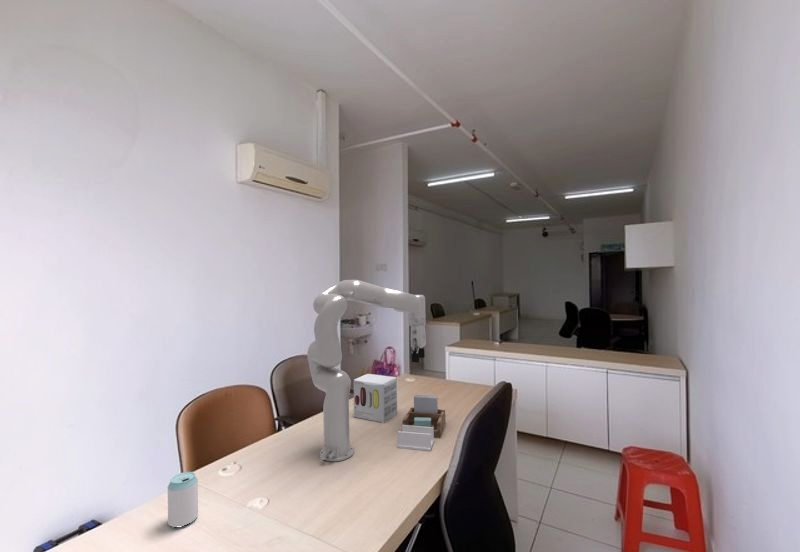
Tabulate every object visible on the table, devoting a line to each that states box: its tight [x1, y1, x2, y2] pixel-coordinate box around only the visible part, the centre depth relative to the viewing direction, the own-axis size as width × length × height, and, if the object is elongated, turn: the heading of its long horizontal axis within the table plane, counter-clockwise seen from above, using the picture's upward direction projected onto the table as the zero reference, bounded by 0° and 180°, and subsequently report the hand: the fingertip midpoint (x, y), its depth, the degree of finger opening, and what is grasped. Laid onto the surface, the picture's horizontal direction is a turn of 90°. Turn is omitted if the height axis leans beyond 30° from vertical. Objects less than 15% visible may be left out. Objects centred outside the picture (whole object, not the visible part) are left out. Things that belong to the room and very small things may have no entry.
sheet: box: [413, 394, 439, 414], centre depth 161 cm, size 4×10×13 cm, turn 75°
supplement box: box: [353, 373, 398, 424], centre depth 175 cm, size 17×13×18 cm
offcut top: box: [414, 418, 431, 427], centre depth 154 cm, size 3×7×3 cm, turn 85°
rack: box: [401, 407, 446, 439], centre depth 158 cm, size 16×16×6 cm
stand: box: [396, 424, 435, 452], centre depth 143 cm, size 9×13×6 cm
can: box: [167, 471, 199, 528], centre depth 99 cm, size 7×7×12 cm
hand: (418, 359), depth 164 cm, fingers open, 9 cm apart
